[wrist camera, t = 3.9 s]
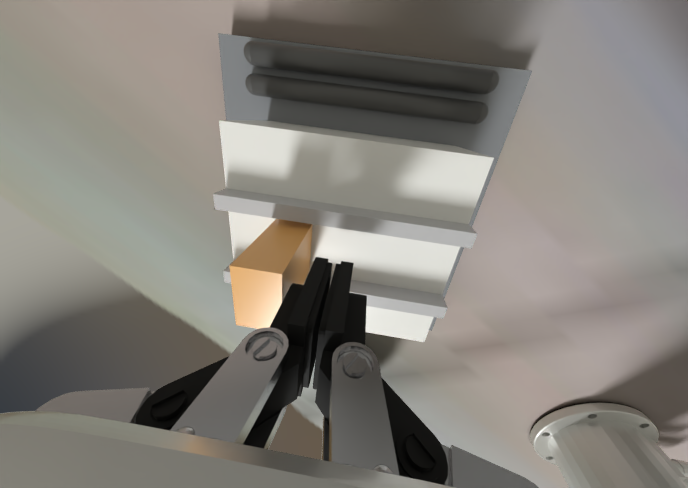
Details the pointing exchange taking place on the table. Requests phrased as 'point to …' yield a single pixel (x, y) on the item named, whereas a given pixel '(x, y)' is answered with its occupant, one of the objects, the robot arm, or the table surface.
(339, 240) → the block
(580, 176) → the table surface
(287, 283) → the handle
